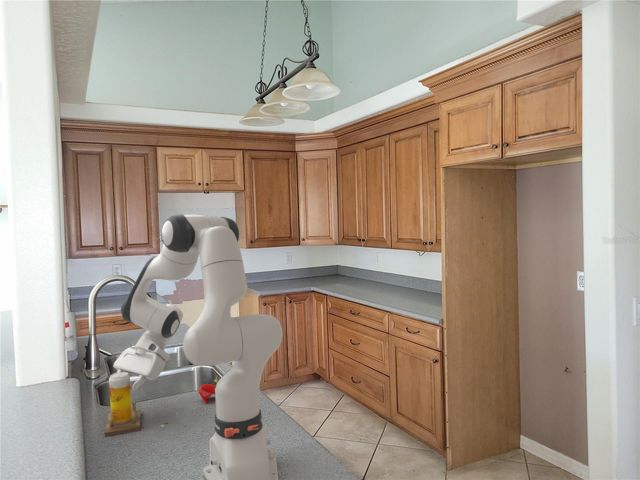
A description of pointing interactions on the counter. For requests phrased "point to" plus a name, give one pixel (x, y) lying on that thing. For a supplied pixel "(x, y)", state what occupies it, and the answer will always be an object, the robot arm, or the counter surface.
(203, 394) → the cap
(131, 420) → the standoff plate
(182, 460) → the counter surface
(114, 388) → the glass of beer
